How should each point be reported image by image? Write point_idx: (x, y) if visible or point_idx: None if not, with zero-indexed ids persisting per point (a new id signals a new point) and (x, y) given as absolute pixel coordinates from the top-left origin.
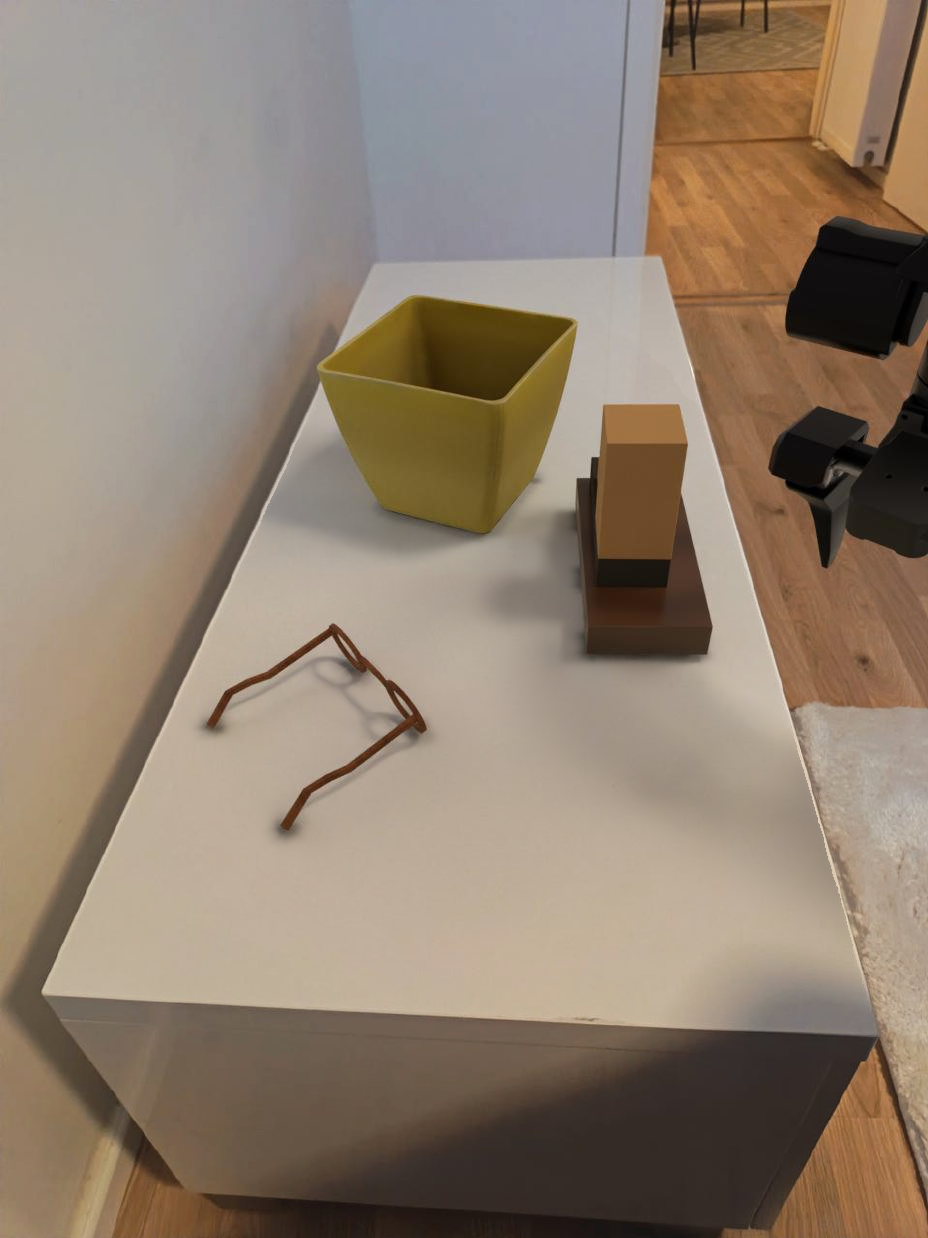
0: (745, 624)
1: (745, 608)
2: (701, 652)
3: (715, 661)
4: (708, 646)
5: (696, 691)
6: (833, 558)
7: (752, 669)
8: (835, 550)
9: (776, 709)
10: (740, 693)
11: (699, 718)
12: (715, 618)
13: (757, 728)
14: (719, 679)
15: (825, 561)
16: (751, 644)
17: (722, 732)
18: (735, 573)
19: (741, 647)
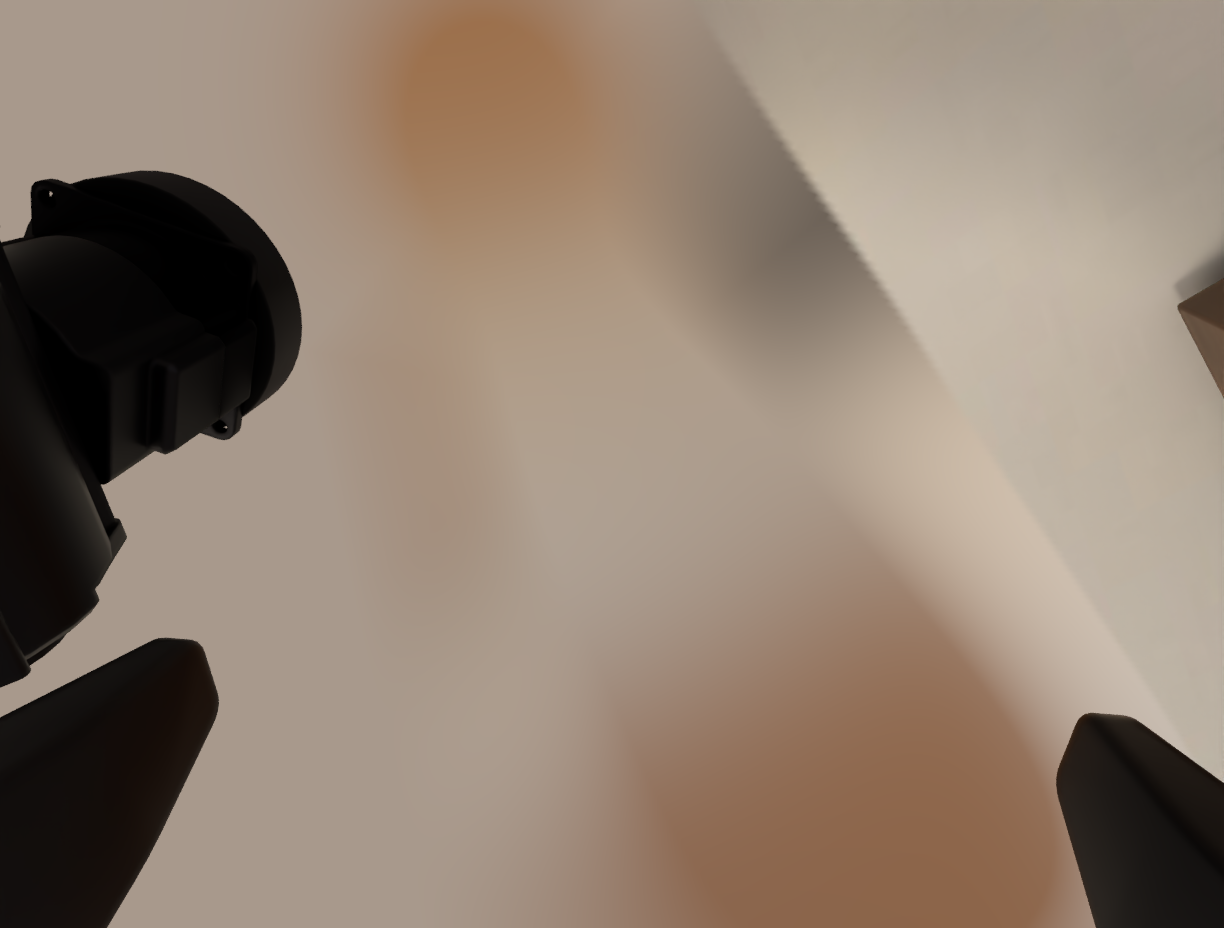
0: (1070, 521)
1: (1089, 579)
2: (1207, 293)
3: (1121, 319)
4: (1202, 317)
5: (1150, 138)
6: (1083, 809)
7: (989, 359)
8: (1129, 880)
9: (859, 242)
10: (993, 233)
11: (1100, 12)
12: (1175, 495)
13: (886, 117)
14: (1083, 249)
15: (1149, 758)
16: (1026, 455)
17: (995, 6)
18: (1161, 688)
19: (1053, 426)
